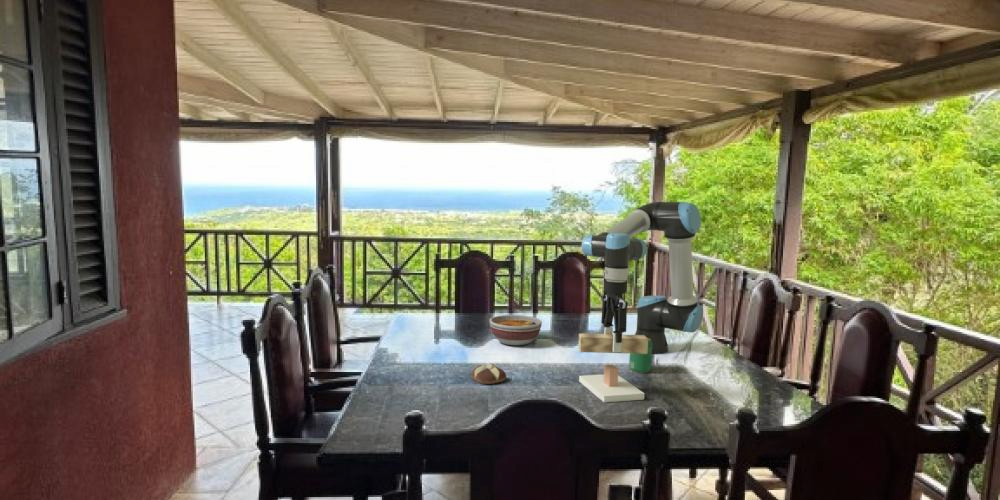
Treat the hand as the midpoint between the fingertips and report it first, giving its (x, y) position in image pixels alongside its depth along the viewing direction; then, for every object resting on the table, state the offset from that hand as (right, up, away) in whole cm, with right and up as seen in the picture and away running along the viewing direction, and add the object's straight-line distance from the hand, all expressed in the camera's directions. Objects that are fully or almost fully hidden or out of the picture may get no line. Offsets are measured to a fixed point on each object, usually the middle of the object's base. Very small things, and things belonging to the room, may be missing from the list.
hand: (612, 348), depth 182 cm
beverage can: (+15, -13, +24) cm, 31 cm away
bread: (-41, -13, +8) cm, 44 cm away
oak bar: (0, -1, 0) cm, 1 cm away
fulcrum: (0, -14, +1) cm, 14 cm away
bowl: (-31, -8, +58) cm, 66 cm away
